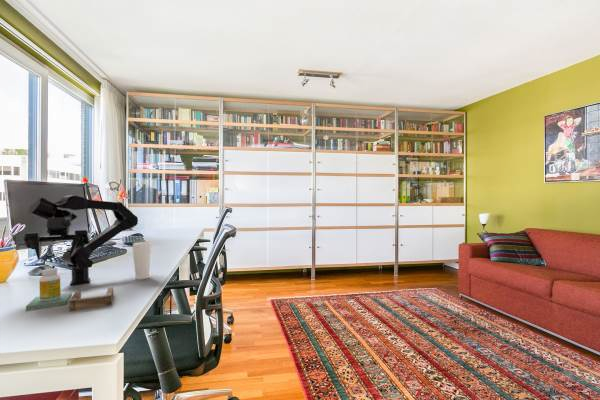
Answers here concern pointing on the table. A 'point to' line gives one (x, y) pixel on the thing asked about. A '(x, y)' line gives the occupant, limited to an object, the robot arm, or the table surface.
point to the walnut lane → (90, 301)
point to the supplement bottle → (49, 285)
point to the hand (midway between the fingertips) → (54, 257)
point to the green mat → (49, 302)
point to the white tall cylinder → (141, 259)
